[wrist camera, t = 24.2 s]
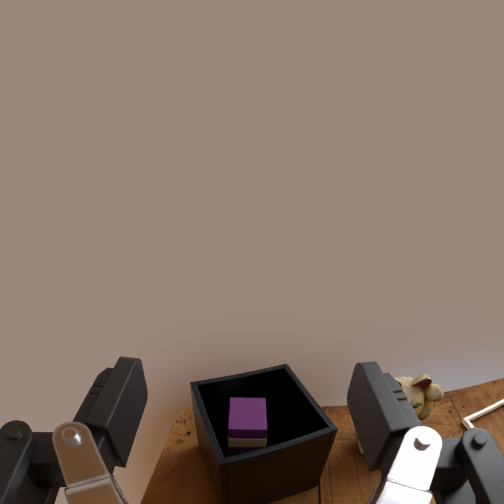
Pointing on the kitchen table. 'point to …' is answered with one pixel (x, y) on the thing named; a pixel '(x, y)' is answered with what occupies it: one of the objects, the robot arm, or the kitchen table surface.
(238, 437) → the chocolate bar
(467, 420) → the photo frame
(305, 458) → the waste bin
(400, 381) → the decorative figurine
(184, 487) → the kitchen table surface
